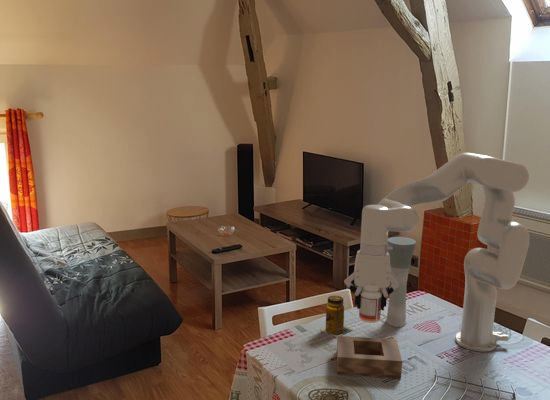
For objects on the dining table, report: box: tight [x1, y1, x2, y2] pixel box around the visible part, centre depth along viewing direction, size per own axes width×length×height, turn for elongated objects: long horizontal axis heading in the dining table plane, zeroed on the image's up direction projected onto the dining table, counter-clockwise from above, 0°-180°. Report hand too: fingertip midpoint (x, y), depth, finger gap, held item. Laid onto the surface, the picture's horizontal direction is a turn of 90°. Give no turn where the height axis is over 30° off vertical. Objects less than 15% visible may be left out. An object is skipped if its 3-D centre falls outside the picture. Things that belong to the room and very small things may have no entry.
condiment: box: [320, 295, 353, 338], centre depth 174 cm, size 7×8×12 cm
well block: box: [336, 335, 403, 380], centre depth 153 cm, size 18×13×6 cm
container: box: [385, 236, 417, 328], centre depth 179 cm, size 10×10×30 cm
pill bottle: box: [358, 285, 382, 324], centre depth 149 cm, size 6×6×11 cm
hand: (370, 307), depth 150 cm, fingers closed on pill bottle, 6 cm apart
